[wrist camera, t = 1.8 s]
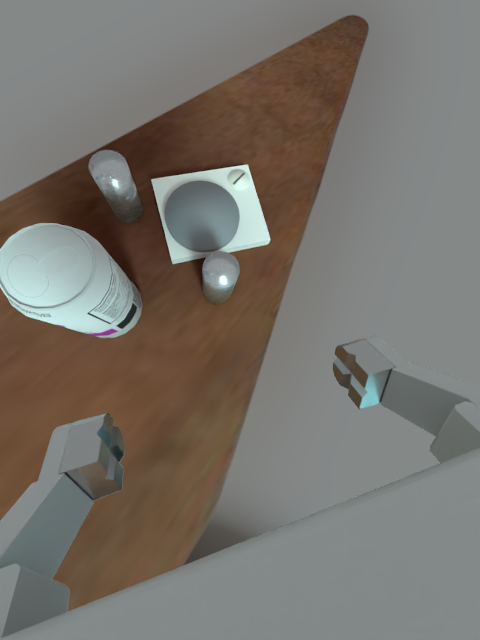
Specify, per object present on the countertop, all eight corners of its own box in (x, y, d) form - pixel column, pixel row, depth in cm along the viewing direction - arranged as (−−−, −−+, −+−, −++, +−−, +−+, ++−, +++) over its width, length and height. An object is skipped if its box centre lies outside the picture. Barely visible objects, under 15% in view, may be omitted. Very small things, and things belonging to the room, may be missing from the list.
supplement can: (98, 351, 34) (20, 339, 20) (64, 297, 35) (-35, 246, 20) (155, 317, 36) (123, 283, 21) (122, 266, 37) (69, 198, 22)
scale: (172, 264, 38) (170, 257, 35) (152, 186, 39) (149, 174, 37) (268, 244, 40) (272, 236, 37) (246, 171, 41) (248, 159, 39)
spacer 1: (116, 225, 37) (92, 185, 29) (110, 199, 38) (85, 152, 30) (146, 220, 38) (131, 179, 30) (140, 194, 39) (123, 147, 30)
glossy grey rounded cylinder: (206, 307, 37) (207, 290, 29) (199, 279, 38) (198, 255, 29) (234, 300, 38) (243, 282, 30) (227, 273, 38) (234, 247, 30)
